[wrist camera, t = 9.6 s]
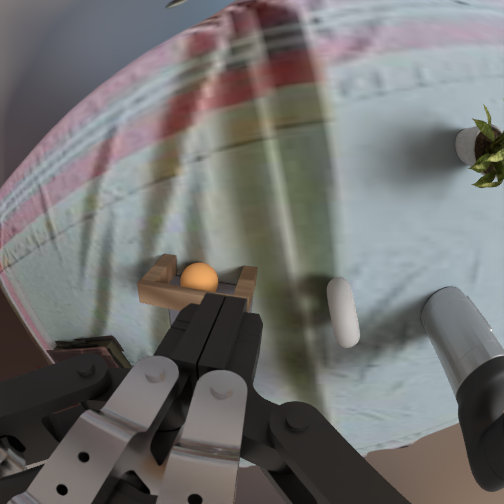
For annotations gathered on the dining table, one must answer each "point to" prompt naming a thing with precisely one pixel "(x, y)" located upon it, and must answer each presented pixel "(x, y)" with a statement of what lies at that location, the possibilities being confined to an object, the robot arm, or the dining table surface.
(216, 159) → the dining table surface
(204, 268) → the ball
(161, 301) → the bridge
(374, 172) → the dining table surface
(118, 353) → the diary
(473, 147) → the house plant
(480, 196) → the dining table surface
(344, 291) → the donut
